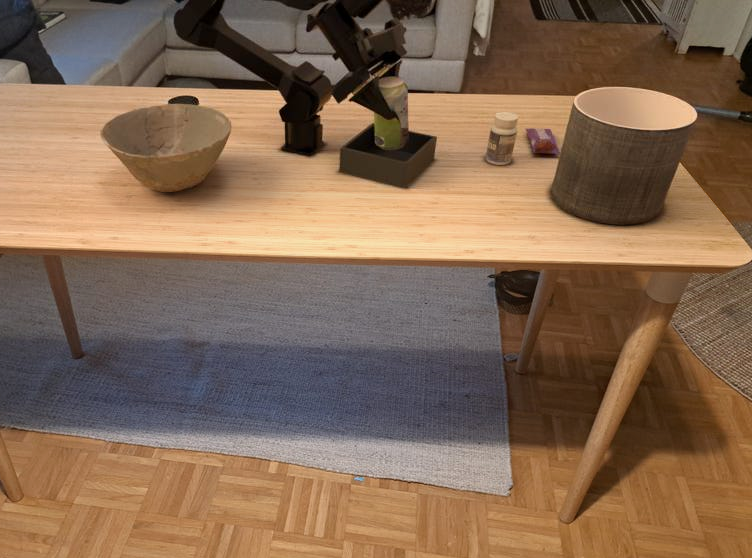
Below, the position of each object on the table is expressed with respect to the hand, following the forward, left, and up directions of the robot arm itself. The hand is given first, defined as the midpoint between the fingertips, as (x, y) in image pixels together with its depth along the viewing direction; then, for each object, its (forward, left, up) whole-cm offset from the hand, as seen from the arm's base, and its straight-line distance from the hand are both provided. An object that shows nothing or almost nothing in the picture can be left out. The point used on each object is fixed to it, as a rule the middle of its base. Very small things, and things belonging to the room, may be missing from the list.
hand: (398, 113), depth 119 cm
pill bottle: (+17, +11, -10) cm, 23 cm away
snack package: (+23, +21, -10) cm, 33 cm away
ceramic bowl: (-34, -22, -10) cm, 42 cm away
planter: (+37, +3, -10) cm, 38 cm away
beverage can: (-2, 0, -7) cm, 7 cm away
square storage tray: (-1, 0, -10) cm, 10 cm away
